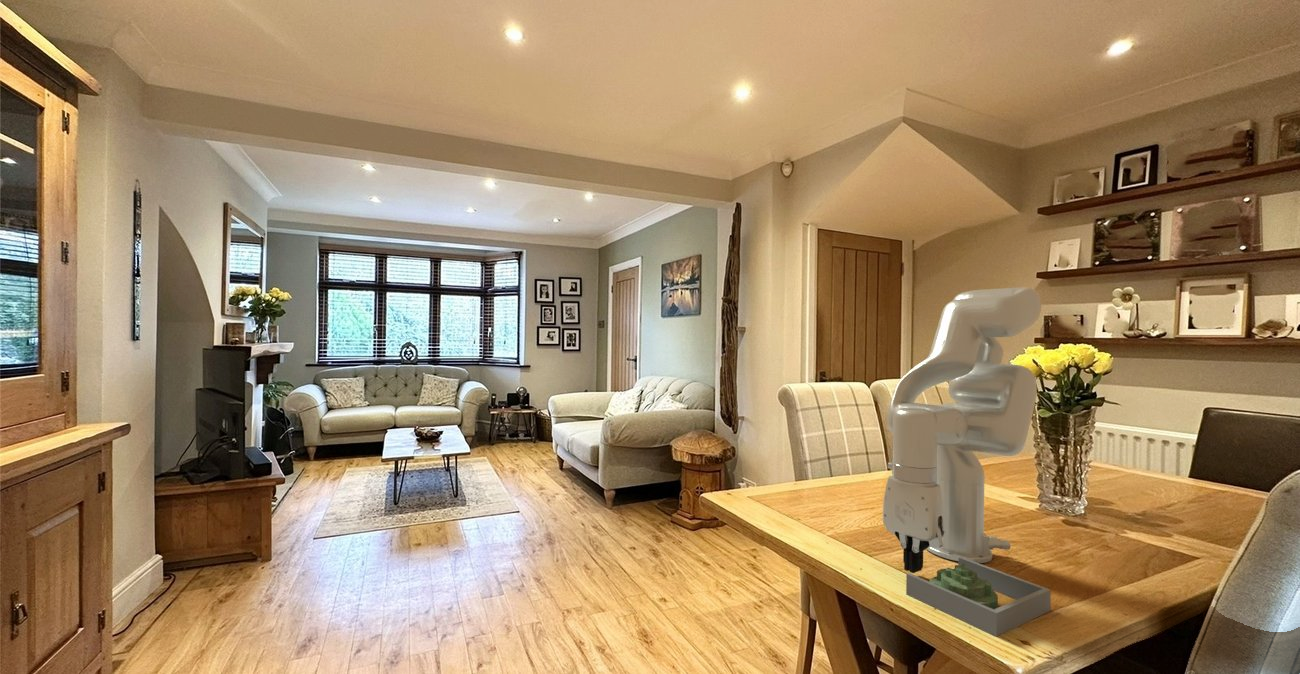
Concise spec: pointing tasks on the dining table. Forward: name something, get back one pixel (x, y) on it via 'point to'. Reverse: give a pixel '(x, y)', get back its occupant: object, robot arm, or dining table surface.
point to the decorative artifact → (966, 585)
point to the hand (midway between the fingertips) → (913, 569)
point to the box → (993, 621)
